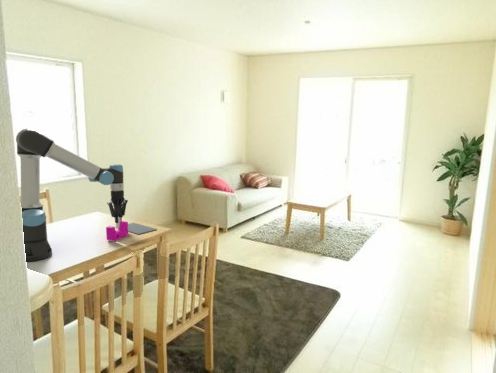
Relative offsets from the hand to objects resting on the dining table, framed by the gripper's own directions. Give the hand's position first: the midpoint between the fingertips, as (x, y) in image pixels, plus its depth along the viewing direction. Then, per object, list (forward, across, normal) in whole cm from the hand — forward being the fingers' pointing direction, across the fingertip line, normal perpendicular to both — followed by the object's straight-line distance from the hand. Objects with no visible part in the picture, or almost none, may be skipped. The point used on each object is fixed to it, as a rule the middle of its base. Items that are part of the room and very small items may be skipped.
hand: (118, 227), depth 224 cm
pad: (+3, +12, 0) cm, 13 cm away
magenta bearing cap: (+4, -4, -6) cm, 8 cm away
